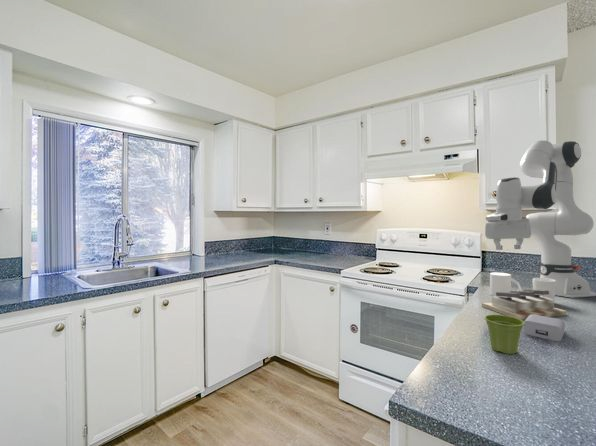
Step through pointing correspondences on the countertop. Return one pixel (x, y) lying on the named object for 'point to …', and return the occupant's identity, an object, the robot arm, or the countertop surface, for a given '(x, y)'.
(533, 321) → the charger
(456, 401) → the countertop surface
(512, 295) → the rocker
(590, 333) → the countertop surface
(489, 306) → the switch panel
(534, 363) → the countertop surface
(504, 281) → the mug
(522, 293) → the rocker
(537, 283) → the white cup
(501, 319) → the plant pot
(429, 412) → the countertop surface
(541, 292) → the rocker
